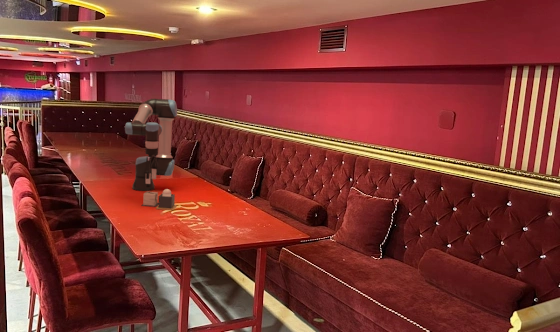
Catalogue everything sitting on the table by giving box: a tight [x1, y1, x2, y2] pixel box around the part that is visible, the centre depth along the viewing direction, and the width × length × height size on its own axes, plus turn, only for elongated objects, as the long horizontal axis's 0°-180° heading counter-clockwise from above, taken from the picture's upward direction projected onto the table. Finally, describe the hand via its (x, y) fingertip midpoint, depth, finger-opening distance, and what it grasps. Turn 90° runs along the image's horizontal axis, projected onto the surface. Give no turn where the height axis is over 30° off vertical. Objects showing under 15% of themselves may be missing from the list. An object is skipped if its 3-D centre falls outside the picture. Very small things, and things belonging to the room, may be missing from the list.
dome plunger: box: [162, 188, 172, 197], centre depth 289 cm, size 5×5×10 cm
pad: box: [141, 203, 158, 208], centre depth 294 cm, size 9×9×1 cm
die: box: [142, 191, 159, 206], centre depth 294 cm, size 7×7×7 cm
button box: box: [155, 193, 177, 211], centre depth 289 cm, size 10×10×8 cm
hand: (150, 181), depth 294 cm, fingers open, 13 cm apart
